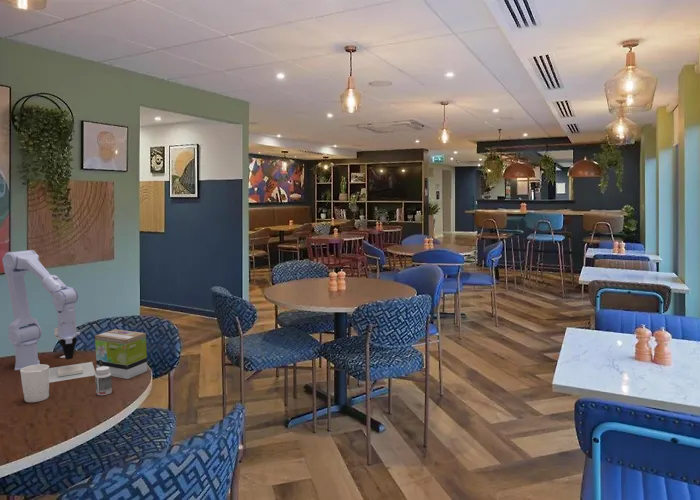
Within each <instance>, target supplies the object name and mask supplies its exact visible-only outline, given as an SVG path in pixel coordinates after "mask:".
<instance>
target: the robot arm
mask: <svg viewBox="0 0 700 500" xmlns="http://www.w3.org/2000/svg"><path fill="white" fill-rule="evenodd" d="M1 260H2V265H3V270H4V274H5V277H6V279H7V285H8V292H9V296H10V302H11V306H12V314H13V317H14V320H13V321H11V323H10V324H8V335H7V339H8V341H9V342H10V343H11V345H12V346H14V354H15V355H14V356H15V363H14V371H20V370H21V369H22V368H24V367H27V366H31V365H39V364H41V363H40V359H39V352H38V342H39V340H40V339H41V337H42V333H43V331H42V327H41V326H40V324H39V320H38V319H37V318H35V317H32V315H31V314H32V313H31V309H30V305H29V298H28V292H27V289H26V283H25V278H24V276H25V275H26V273H28V272H31V274H33V275H35V277H37V278H38V279H39V280H40V281H41V287H43V288H44V289H45V291H46V292H48V294H50V295H51V296H52V298H51V299H52V302H53V304H54V307H55V311H57V313H56V315H57V327H58V331H59V335H58V337H59V338H61V340H58V343H59V345H60V346H61V347H62V351H63V353H64V355H65V358H64V359H65V360H72V359H73V358H74V352H75V346H76V344H77V342H78V339H77V336H80V335H81V332H80V331H77V320H76V319H77V318H76V304H75V303H77V302H78V300H79V293H78V291H77V290H76V289H75V288H74V287H70V286H67V285H66V284H65V283H64V282H63V281H62V280H61V279H60V278H59V277H58V275H55V274H51V273H50V272H49V271H48V270H47V269H46V268H45V267H44V265H43V264H42V263H41V261H40V255H39V254H38V253H37V252H35V250H33V249H27V250H20V251H8V252H6V253H5V254H4V255H3V257H2V259H1Z"/></svg>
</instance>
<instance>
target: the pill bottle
mask: <svg viewBox="0 0 700 500" xmlns="http://www.w3.org/2000/svg"><path fill="white" fill-rule="evenodd" d="M95 372H96V375H95V376H94V377H95V378H94V379H95V392H96V395H97V396H106V395H110V394H112V393H113V383H112V382H113V381H112V376H111V373H110V369H109V367H107V366H103V367H99V368H97V367H96V368H95Z"/></svg>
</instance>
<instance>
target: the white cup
mask: <svg viewBox="0 0 700 500" xmlns="http://www.w3.org/2000/svg"><path fill="white" fill-rule="evenodd" d="M49 368H50V365H48V364H41V363H40V364H39V365H31V366H27V367H24V368H22V369H21V370H19V371H20V377H21V388H22V393H23V398H24V402H26V403H37V402H42V401H45V400H47V399H48V398H49V397H50V383H49Z"/></svg>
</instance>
